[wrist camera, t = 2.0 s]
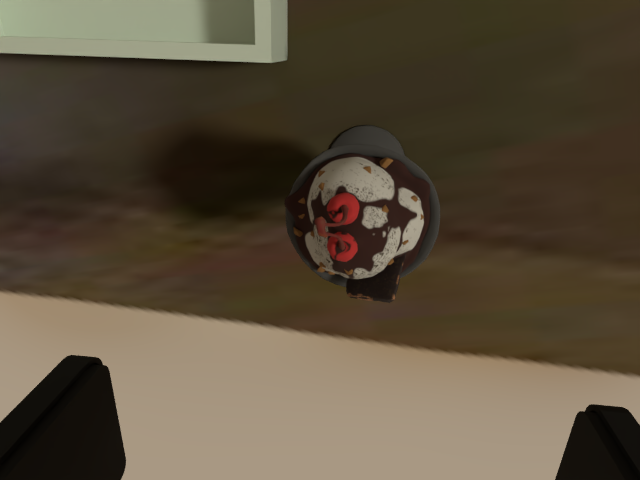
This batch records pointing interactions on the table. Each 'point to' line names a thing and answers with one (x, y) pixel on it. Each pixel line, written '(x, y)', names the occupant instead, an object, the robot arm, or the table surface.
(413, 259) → the sundae
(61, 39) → the box
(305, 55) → the table surface
